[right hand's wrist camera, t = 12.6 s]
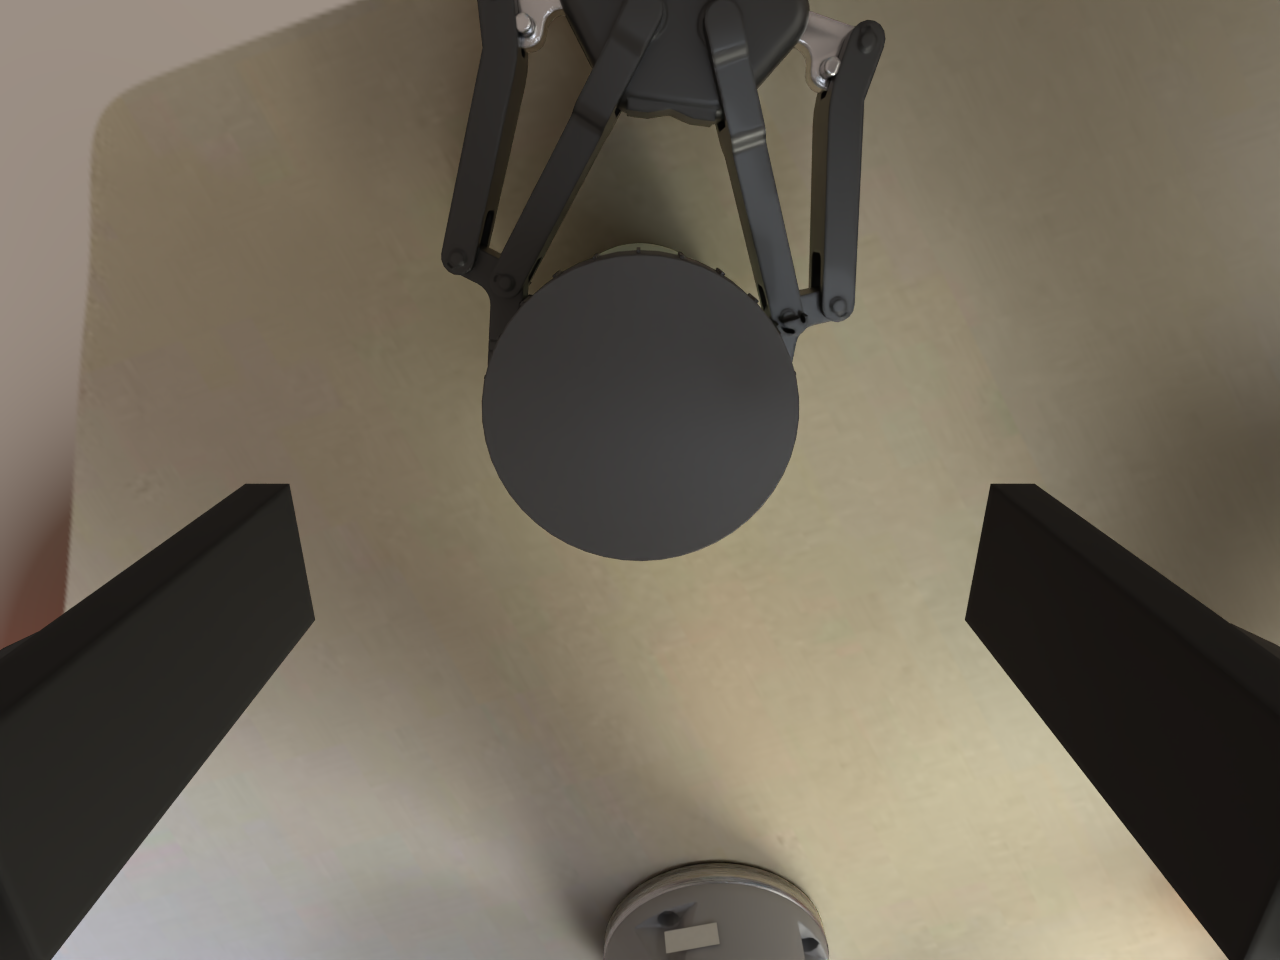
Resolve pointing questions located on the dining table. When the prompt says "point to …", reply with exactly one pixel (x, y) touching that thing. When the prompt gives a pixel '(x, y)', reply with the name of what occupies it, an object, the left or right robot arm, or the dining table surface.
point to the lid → (640, 406)
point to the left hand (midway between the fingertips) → (627, 466)
